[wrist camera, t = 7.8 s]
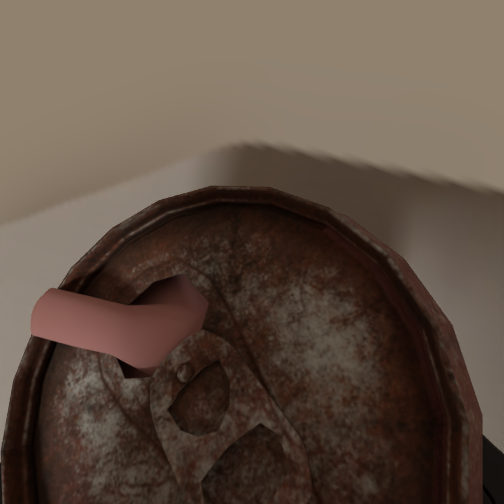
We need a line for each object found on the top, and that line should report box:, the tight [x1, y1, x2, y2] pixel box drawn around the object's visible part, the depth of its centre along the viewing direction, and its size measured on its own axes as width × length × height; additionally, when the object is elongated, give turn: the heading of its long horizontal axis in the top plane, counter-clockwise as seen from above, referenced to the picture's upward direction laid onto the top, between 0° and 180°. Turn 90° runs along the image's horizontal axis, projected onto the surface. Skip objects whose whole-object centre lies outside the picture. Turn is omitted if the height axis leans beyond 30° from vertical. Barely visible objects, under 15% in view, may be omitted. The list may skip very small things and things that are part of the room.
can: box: [1, 186, 483, 504], centre depth 10 cm, size 6×6×14 cm
